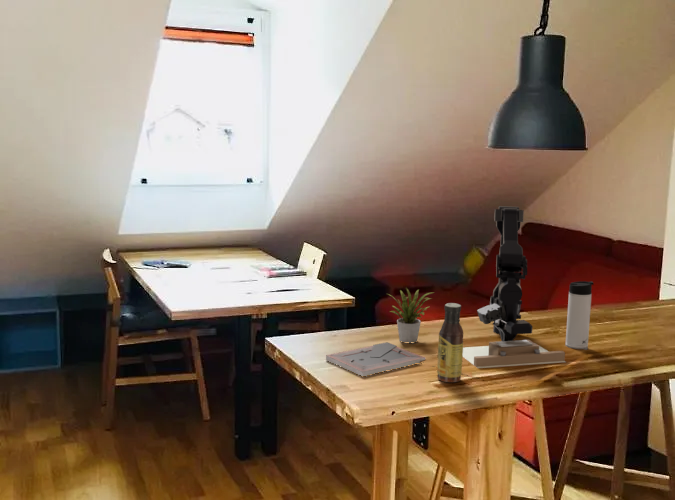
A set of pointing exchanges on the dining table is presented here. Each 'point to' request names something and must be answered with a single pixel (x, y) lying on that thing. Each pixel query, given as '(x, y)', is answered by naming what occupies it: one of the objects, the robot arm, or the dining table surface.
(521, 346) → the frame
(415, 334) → the house plant
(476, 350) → the wall board
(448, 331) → the sauce bottle
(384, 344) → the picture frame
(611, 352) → the dining table surface
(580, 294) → the travel mug
